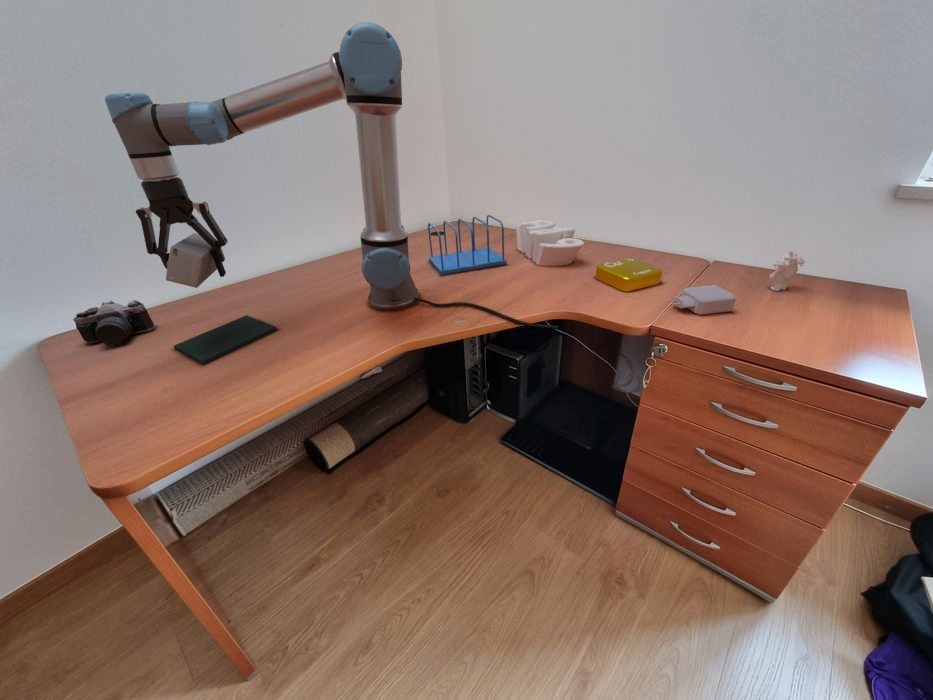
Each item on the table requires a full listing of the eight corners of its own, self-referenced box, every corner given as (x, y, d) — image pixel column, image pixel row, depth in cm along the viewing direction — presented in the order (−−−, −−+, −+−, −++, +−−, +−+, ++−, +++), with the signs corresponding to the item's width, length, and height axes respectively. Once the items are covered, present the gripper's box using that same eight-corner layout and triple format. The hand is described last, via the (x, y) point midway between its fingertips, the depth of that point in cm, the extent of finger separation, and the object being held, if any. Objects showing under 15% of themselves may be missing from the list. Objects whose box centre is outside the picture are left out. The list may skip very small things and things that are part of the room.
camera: (79, 356, 102) (56, 321, 97) (90, 339, 110) (69, 306, 104) (151, 340, 108) (134, 306, 102) (157, 325, 116) (140, 293, 110)
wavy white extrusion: (511, 243, 167) (511, 218, 161) (547, 239, 169) (549, 214, 164) (542, 271, 137) (544, 241, 132) (586, 266, 140) (589, 236, 135)
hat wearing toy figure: (771, 293, 114) (787, 252, 108) (760, 288, 117) (774, 248, 111) (797, 289, 116) (814, 248, 109) (785, 284, 119) (801, 245, 113)
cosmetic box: (217, 269, 105) (200, 291, 92) (185, 260, 102) (163, 282, 89) (222, 239, 102) (206, 257, 89) (190, 229, 99) (168, 247, 86)
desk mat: (277, 330, 109) (276, 326, 109) (203, 365, 95) (202, 361, 95) (247, 318, 117) (246, 315, 116) (174, 348, 103) (173, 345, 102)
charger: (659, 304, 112) (708, 298, 113) (678, 318, 104) (731, 312, 105) (662, 288, 109) (713, 283, 111) (682, 302, 101) (737, 296, 103)
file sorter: (489, 251, 159) (489, 212, 151) (506, 265, 145) (507, 222, 137) (429, 261, 153) (425, 220, 145) (441, 276, 139) (437, 231, 131)
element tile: (625, 293, 119) (628, 278, 117) (592, 277, 131) (594, 263, 128) (662, 283, 124) (666, 268, 122) (627, 269, 136) (630, 255, 133)
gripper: (219, 172, 91) (252, 266, 102) (110, 180, 86) (157, 278, 98) (211, 176, 84) (246, 276, 96) (93, 185, 80) (145, 289, 92)
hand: (201, 277), depth 97 cm, fingers closed on cosmetic box, 9 cm apart
